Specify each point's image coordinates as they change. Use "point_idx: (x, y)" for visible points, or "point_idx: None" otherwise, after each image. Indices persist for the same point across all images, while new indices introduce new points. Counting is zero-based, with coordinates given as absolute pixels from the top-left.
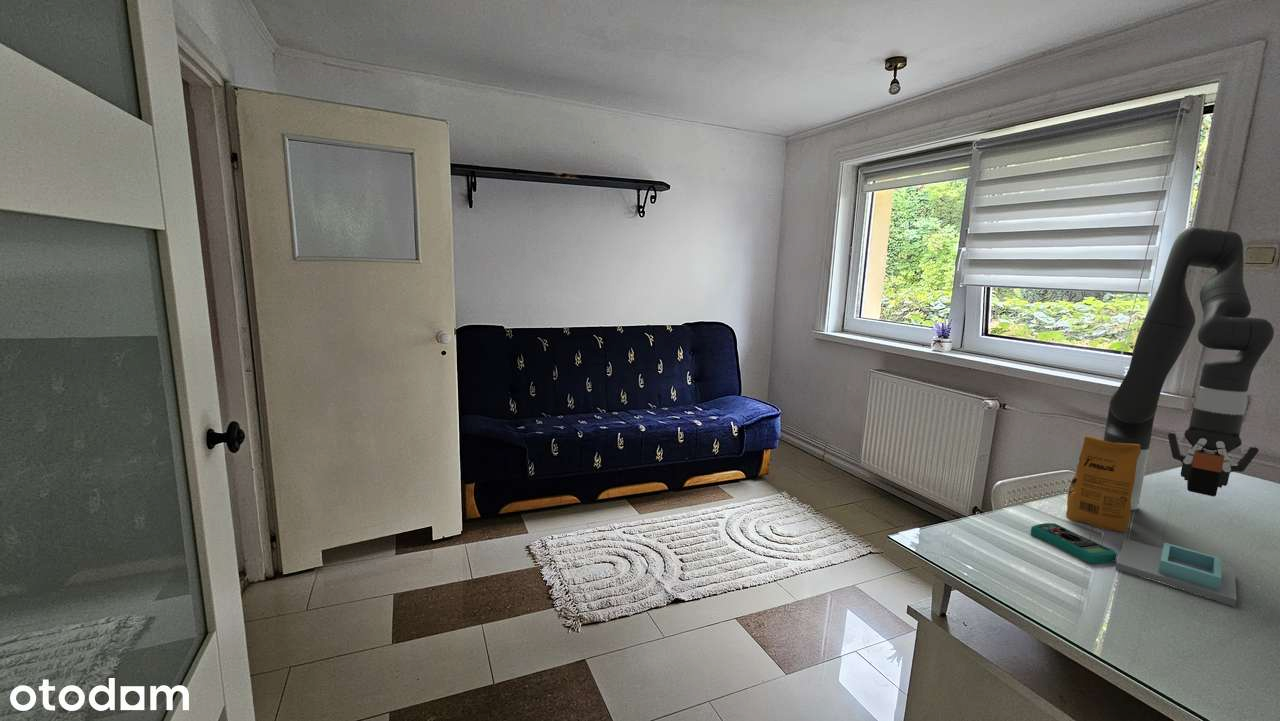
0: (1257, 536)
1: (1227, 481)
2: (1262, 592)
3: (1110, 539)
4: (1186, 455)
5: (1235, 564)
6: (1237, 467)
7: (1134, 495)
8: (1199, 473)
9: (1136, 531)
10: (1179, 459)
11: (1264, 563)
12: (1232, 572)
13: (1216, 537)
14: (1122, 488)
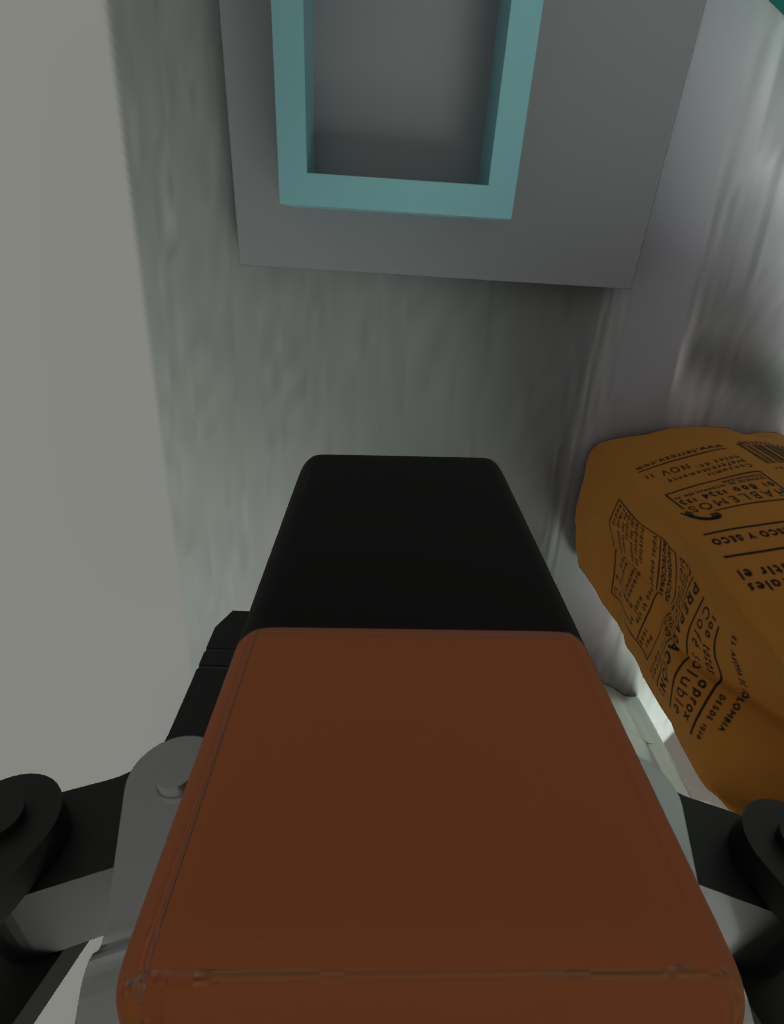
0: None
1: (210, 653)
2: (146, 143)
3: (662, 311)
4: None
5: (252, 425)
6: (20, 842)
7: None
8: (474, 578)
9: (540, 505)
10: (709, 818)
11: (184, 518)
12: (243, 209)
13: None
14: (759, 553)
